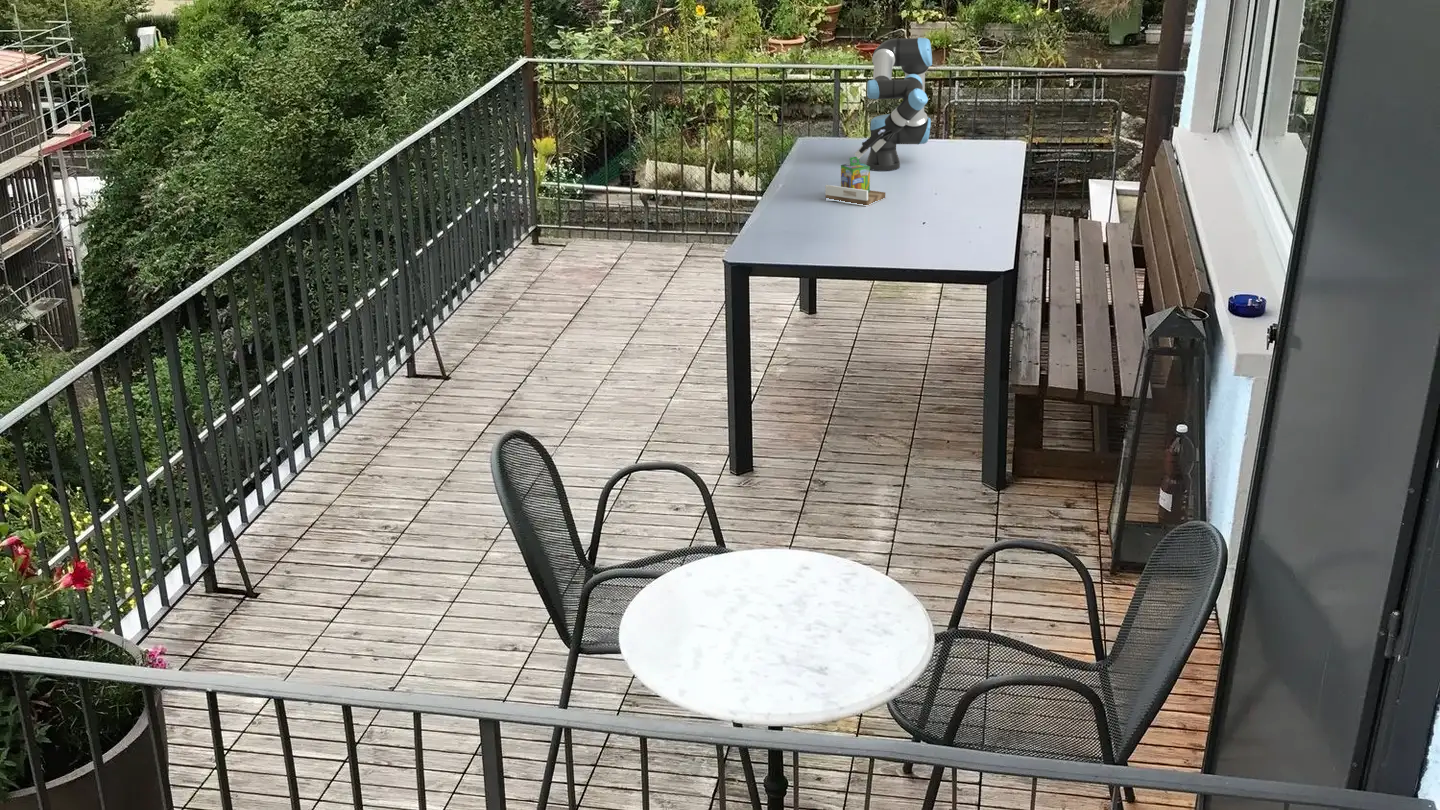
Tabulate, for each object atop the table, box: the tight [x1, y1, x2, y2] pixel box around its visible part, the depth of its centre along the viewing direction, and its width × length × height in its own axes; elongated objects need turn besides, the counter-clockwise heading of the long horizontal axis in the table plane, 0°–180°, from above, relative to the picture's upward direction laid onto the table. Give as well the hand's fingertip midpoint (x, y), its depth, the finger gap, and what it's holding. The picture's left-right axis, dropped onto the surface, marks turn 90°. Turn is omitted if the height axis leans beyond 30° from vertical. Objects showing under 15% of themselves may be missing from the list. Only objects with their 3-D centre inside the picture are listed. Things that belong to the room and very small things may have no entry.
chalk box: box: [840, 156, 871, 193], centre depth 564 cm, size 9×9×15 cm
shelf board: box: [824, 184, 886, 206], centre depth 564 cm, size 15×20×6 cm
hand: (865, 153), depth 557 cm, fingers open, 13 cm apart
